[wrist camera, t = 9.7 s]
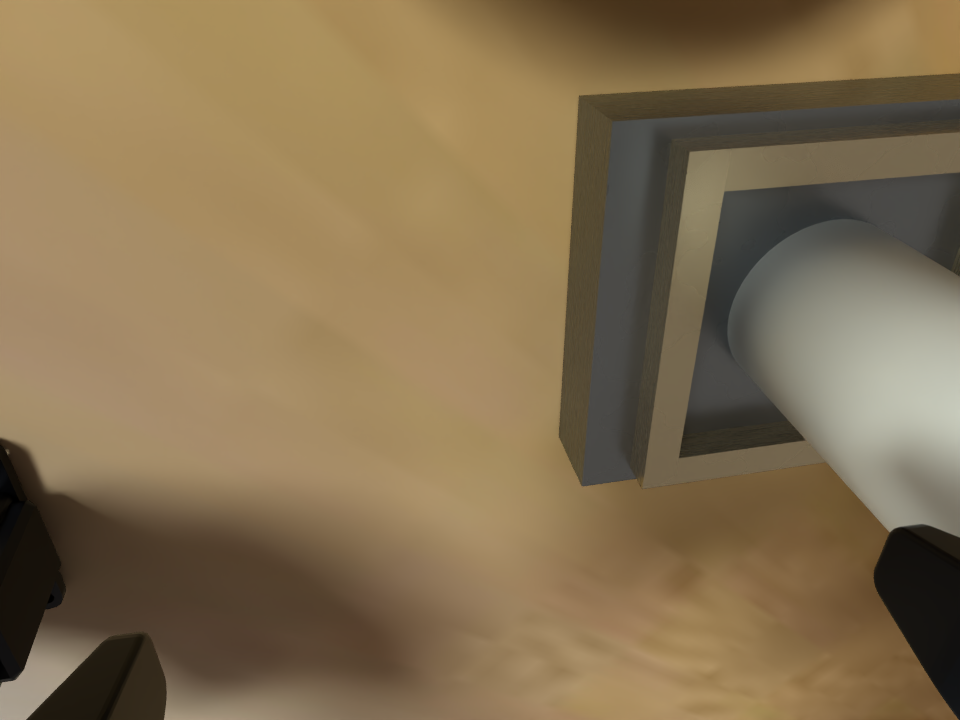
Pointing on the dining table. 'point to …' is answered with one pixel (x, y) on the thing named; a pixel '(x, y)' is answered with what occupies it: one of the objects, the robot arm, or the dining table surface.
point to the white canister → (861, 363)
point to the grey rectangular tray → (725, 253)
